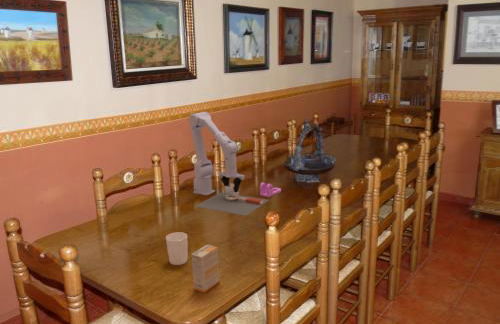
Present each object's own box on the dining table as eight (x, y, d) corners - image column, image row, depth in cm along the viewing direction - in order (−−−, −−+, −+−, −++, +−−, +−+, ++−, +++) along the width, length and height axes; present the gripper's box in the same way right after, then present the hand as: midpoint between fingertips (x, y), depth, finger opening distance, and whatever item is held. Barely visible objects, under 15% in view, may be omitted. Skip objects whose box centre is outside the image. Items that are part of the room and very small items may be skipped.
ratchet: (223, 200, 232) (222, 191, 231) (230, 196, 238) (229, 187, 237) (258, 206, 222) (258, 196, 221) (265, 201, 228) (265, 192, 227)
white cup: (168, 257, 172) (166, 232, 170) (189, 255, 173) (187, 231, 170) (167, 266, 165) (164, 241, 162) (188, 265, 165) (186, 240, 163)
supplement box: (209, 278, 155) (207, 243, 152) (220, 282, 153) (218, 247, 149) (193, 289, 149) (190, 253, 146) (204, 293, 146) (201, 256, 143)
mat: (194, 206, 225) (194, 206, 225) (220, 192, 245) (220, 192, 245) (245, 216, 211) (245, 215, 211) (269, 200, 231) (269, 199, 231)
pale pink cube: (225, 195, 232) (224, 186, 230) (230, 192, 236) (229, 183, 235) (233, 196, 229) (233, 187, 228) (238, 193, 233) (238, 184, 232)
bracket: (268, 197, 235) (268, 185, 233) (260, 195, 239) (260, 183, 237) (283, 191, 245) (282, 179, 243) (274, 189, 248) (274, 177, 247)
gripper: (214, 166, 229) (216, 191, 233) (238, 169, 222) (240, 195, 226) (222, 162, 235) (223, 187, 238) (246, 165, 228) (247, 191, 231)
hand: (232, 191), depth 232 cm, fingers closed on pale pink cube, 5 cm apart
